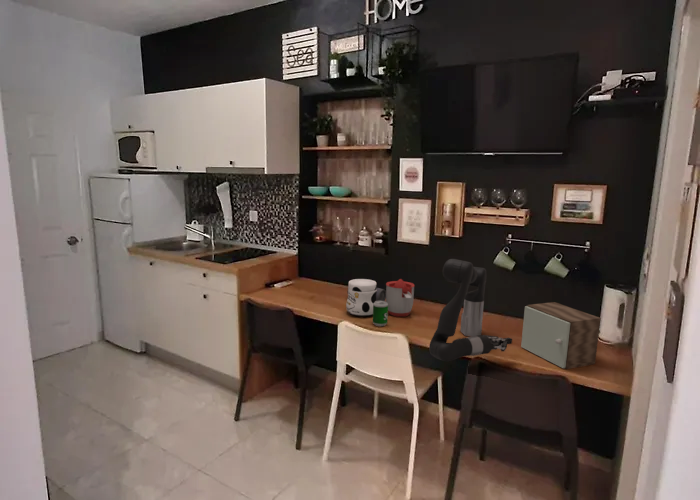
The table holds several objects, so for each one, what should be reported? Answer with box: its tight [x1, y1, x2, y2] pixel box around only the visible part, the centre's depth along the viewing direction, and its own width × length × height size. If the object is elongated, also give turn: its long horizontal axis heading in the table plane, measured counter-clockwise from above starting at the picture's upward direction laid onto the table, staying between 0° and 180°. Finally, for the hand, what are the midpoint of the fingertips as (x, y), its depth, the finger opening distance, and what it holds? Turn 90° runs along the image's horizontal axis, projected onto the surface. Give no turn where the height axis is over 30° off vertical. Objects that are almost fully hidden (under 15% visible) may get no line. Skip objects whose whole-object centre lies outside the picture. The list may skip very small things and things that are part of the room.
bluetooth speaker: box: [347, 287, 386, 301], centre depth 265 cm, size 23×9×10 cm, turn 55°
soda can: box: [372, 300, 389, 327], centre depth 225 cm, size 8×8×12 cm
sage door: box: [520, 305, 570, 369], centre depth 187 cm, size 3×24×19 cm, turn 21°
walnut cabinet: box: [526, 301, 602, 370], centre depth 190 cm, size 16×24×20 cm, turn 21°
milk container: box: [345, 278, 378, 317], centre depth 242 cm, size 17×17×18 cm
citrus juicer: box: [385, 278, 416, 318], centre depth 242 cm, size 16×17×20 cm
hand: (510, 340), depth 183 cm, fingers closed
